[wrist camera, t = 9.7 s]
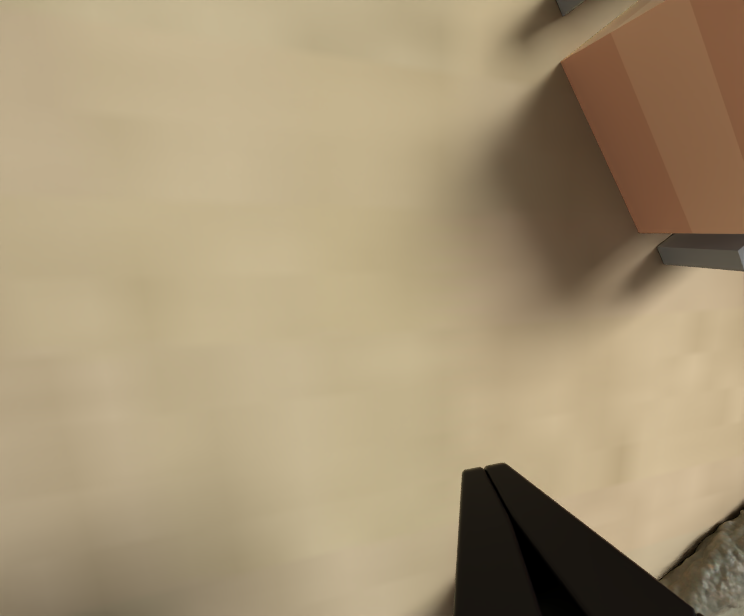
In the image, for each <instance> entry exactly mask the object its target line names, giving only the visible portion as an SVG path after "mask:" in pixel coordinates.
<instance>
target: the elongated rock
mask: <svg viewBox="0 0 744 616" xmlns="http://www.w3.org/2000/svg"><path fill="white" fill-rule="evenodd" d="M659 581H660V582H661V583H662V584H663V585H665V586H666V587H667V588H669V589H670V590H671V591H673V592H674V593H675V594H676V595H678V596H679V597H680V598H682V599H683V600H684V601H686V602H687V603H688V604H689V605H691V606H692V607H693V608H694V609H695V613H701V614H703V615H704V616H744V510H741V511H740V515H739V516H738V517H737V518H735V519H733V520H730V521H726V522H724V523H723V524H721V525H719V527H718V528H717V530H716V531H715V532H714V533H713V534H711V535H709V536H708V537H706V538H705V539H704V540H702V542H701V543H700V544H699V546H698V547H697V549H696V551H695V553H694V554H693V555H692V556H690V557H689V558H686V559H685V560H684V562H683V563H682V565H680V566H678V567H677V568H675V569H674V570H671V571H670V572H669V573H668V574H666V575H665V576H664V577H663V578H662V579H661V580H659Z"/></svg>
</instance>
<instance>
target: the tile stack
mask: <svg viewBox="0 0 744 616" xmlns="http://www.w3.org/2000/svg"><path fill="white" fill-rule="evenodd" d="M561 64H562V67H563V69H564V71H565V73H566V75H567V77H568V80H569V82H570V84H571V86H572V88H573V91H574V93H575V95H576V97H577V99H578V101H579V104H580V106H581V108H582V110H583V112H584V114H585V117H586V119H587V121H588V123H589V125H590V127H591V130H592V132H593V134H594V136H595V138H596V140H597V143H598V145H599V147H600V149H601V151H602V154H603V156H604V158H605V160H606V162H607V164H608V167H609V169H610V171H611V173H612V175H613V177H614V180H615V182H616V184H617V186H618V188H619V190H620V193H621V195H622V197H623V199H624V201H625V203H626V206H627V208H628V210H629V212H630V214H631V217H632V219H633V221H634V223H635V225H636V227H637V230H638V232H639V233H696V234H744V0H639V1H637V2H636V3H635V4H634V5H632V6H631V7H630V8H629V9H627V10H626V11H625V12H623V13H622V14H621V15H620V16H618V17H617V18H616V19H614V20H613V21H612V22H611V23H609V24H608V25H607V26H606V27H604V28H603V29H602V30H600V31H599V32H598V33H597V34H595V35H594V36H593V37H592V38H590V39H589V40H588V41H586V42H585V43H584V44H583V45H581V46H580V47H579V48H577V49H576V50H575V51H574V52H572V53H571V54H570V55H569V56H567V57H566V58H565V59H563V60H562V61H561Z"/></svg>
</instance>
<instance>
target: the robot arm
mask: <svg viewBox="0 0 744 616" xmlns="http://www.w3.org/2000/svg"><path fill="white" fill-rule="evenodd" d="M453 616H704V615H703V614H701V613H695V609H694V608H693V607H692V606H691V605H689V604H688V603H687V602H686V601H684V600H683V599H682V598H680V597H679V596H678V595H676V594H675V593H674V592H673V591H671V590H670V589H669V588H667V587H666V586H665V585H663V584H662V583H661V582H660V581H658V580H657V579H656V578H654V577H653V576H652V575H650V574H649V573H648V572H646V571H645V570H644V569H643V568H641V567H640V566H639V565H637V564H636V563H635V562H633V561H632V560H631V559H630V558H628V557H627V556H626V555H624V554H623V553H622V552H620V551H619V550H618V549H617V548H615V547H614V546H613V545H611V544H610V543H609V542H607V541H606V540H605V539H604V538H602V537H601V536H600V535H598V534H597V533H596V532H594V531H593V530H592V529H590V528H589V527H588V526H587V525H585V524H584V523H583V522H581V521H580V520H579V519H577V518H576V517H575V516H574V515H572V514H571V513H570V512H568V511H567V510H566V509H564V508H563V507H562V506H561V505H559V504H558V503H557V502H555V501H554V500H553V499H551V498H550V497H549V496H548V495H546V494H545V493H544V492H542V491H541V490H540V489H538V488H537V487H536V486H534V485H533V484H532V483H531V482H529V481H528V480H527V479H525V478H524V477H523V476H521V475H520V474H519V473H518V472H516V471H515V470H514V469H512V468H511V467H510V466H508V465H507V464H505V463H498V464H493V465H488V466H486V467H485V468H484V469H483V468H481V467H477V468H472V469H467V470H464V471H463V472H462V482H461V498H460V515H459V531H458V547H457V563H456V579H455V595H454V611H453Z"/></svg>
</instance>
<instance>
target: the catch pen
mask: <svg viewBox="0 0 744 616" xmlns="http://www.w3.org/2000/svg"><path fill="white" fill-rule="evenodd" d="M556 1H557V3H558V6H559V8H560V11H561V13H562V15H563V16H564V15H566V14H567V13H568V12H570V11H571V10H573V9H574V8H575V7H577V6H578V5H580V4H581V3H583V2H584V1H585V0H556ZM657 248H658V251H659V253H660V256H661V258H662V261H663V263H664V264H666V265H678V266H689V267H700V268H712V269H723V270H734V271H744V234H696V233H674V234H673V235H671V236H670V237H669V238H668V239H666V240H665V241H664V242H663V243H661V244H660V245H659V246H658V247H657Z"/></svg>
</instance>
